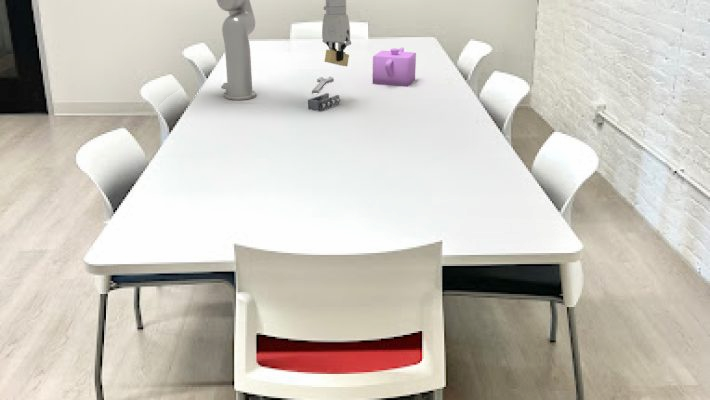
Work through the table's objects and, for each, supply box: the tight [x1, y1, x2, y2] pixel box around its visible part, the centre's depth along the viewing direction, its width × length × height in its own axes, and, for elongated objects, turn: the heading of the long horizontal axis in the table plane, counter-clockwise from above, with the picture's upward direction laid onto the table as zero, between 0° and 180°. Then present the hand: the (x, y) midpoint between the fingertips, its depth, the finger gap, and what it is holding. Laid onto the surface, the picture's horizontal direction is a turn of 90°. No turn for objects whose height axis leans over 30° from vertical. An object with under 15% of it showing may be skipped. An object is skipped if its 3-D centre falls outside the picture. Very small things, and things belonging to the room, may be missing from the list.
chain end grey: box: [318, 92, 341, 108], centre depth 284 cm, size 7×5×4 cm
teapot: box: [372, 47, 417, 87], centre depth 318 cm, size 15×25×14 cm, turn 162°
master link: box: [324, 49, 350, 67], centre depth 284 cm, size 2×12×5 cm, turn 146°
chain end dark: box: [307, 95, 331, 112], centre depth 280 cm, size 7×6×4 cm
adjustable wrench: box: [311, 76, 335, 94], centre depth 312 cm, size 25×6×2 cm, turn 165°
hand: (337, 59), depth 285 cm, fingers closed on master link, 2 cm apart
